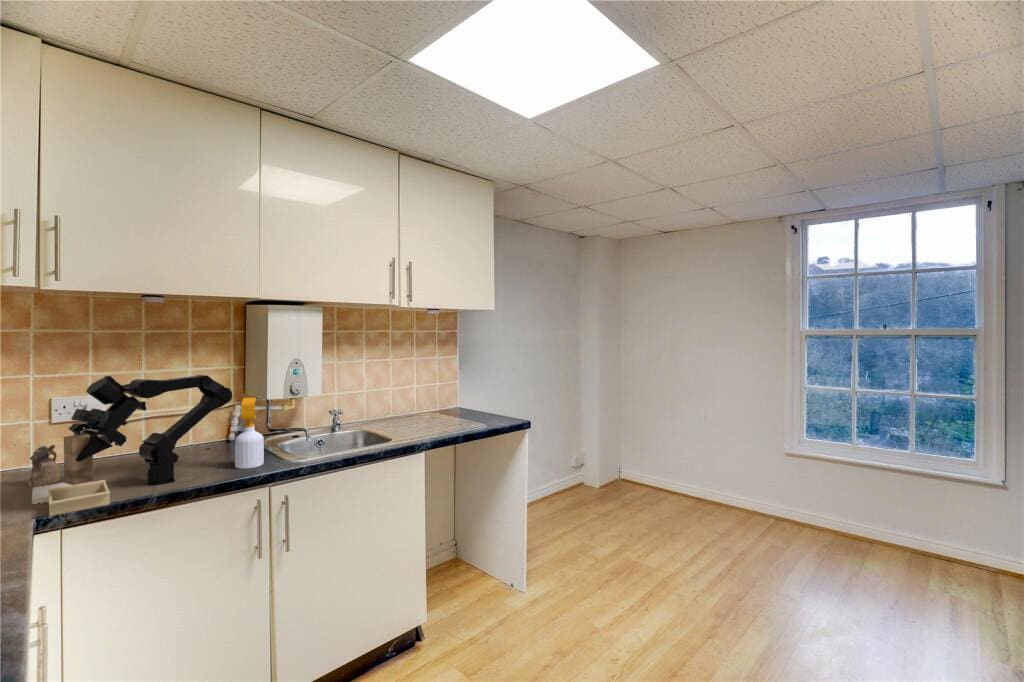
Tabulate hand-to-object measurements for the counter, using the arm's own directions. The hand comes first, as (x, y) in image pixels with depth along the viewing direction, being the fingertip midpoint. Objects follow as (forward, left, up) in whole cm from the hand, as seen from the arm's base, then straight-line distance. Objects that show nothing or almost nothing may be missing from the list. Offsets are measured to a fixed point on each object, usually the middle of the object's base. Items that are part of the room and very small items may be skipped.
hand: (72, 459), depth 132 cm
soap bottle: (-47, -9, -13) cm, 50 cm away
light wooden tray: (-1, -1, -13) cm, 13 cm away
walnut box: (-1, -1, -7) cm, 7 cm away
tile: (+3, -16, -13) cm, 20 cm away
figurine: (+6, -33, -13) cm, 36 cm away
